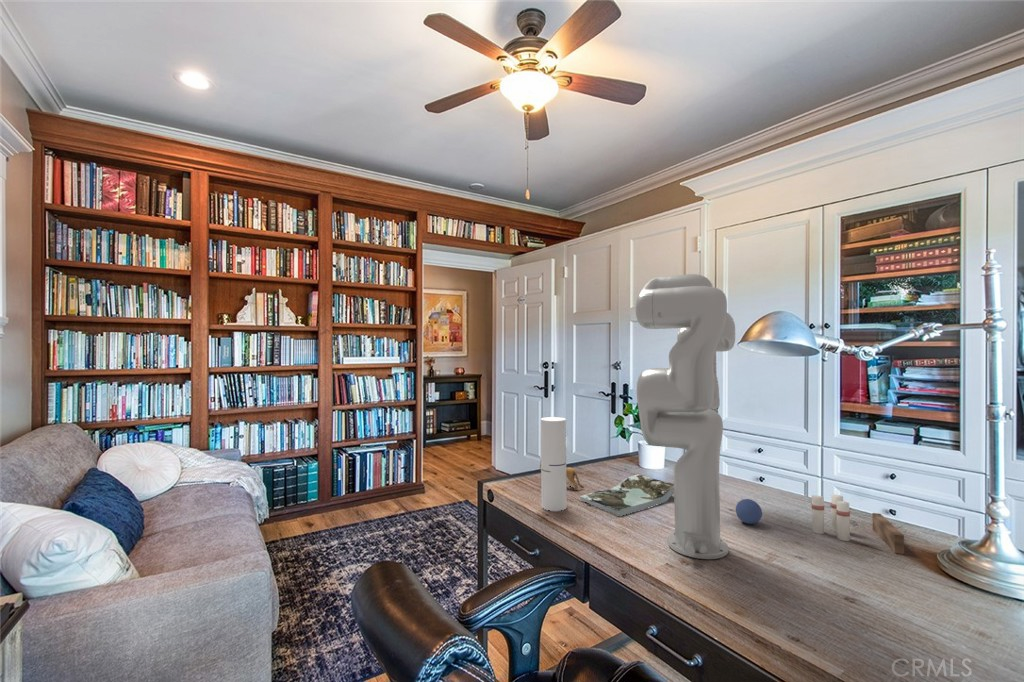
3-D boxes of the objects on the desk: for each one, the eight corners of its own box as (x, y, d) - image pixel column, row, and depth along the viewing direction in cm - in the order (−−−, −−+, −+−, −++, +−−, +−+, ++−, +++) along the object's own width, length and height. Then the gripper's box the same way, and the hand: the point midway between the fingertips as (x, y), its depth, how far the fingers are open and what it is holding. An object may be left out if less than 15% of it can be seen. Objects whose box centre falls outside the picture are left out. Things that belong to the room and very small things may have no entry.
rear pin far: (845, 533, 108) (845, 498, 108) (832, 532, 109) (832, 497, 109) (842, 529, 111) (841, 495, 111) (830, 528, 112) (829, 493, 112)
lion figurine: (537, 487, 147) (537, 459, 147) (542, 482, 152) (542, 456, 152) (582, 492, 142) (582, 463, 142) (585, 487, 147) (585, 459, 147)
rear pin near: (852, 542, 104) (851, 505, 104) (838, 540, 105) (837, 503, 105) (848, 537, 106) (847, 501, 106) (835, 536, 107) (834, 500, 107)
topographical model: (620, 519, 120) (617, 500, 121) (581, 509, 133) (579, 492, 133) (680, 496, 134) (677, 479, 135) (640, 489, 147) (638, 474, 148)
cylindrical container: (565, 512, 124) (564, 421, 125) (539, 510, 126) (539, 420, 126) (567, 503, 131) (566, 417, 132) (543, 501, 133) (542, 416, 133)
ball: (763, 529, 111) (763, 504, 111) (736, 525, 114) (736, 501, 114) (760, 520, 117) (760, 497, 117) (735, 517, 119) (734, 494, 119)
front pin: (826, 534, 108) (825, 499, 108) (813, 533, 109) (812, 497, 109) (823, 530, 110) (822, 495, 110) (810, 529, 111) (810, 494, 111)
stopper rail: (904, 554, 97) (903, 535, 97) (895, 553, 98) (894, 534, 98) (880, 530, 110) (880, 513, 110) (872, 529, 111) (872, 512, 111)
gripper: (698, 370, 121) (699, 434, 121) (729, 369, 132) (730, 427, 131) (673, 369, 127) (674, 430, 127) (705, 368, 138) (706, 424, 137)
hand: (703, 429), depth 129 cm, fingers open, 9 cm apart
